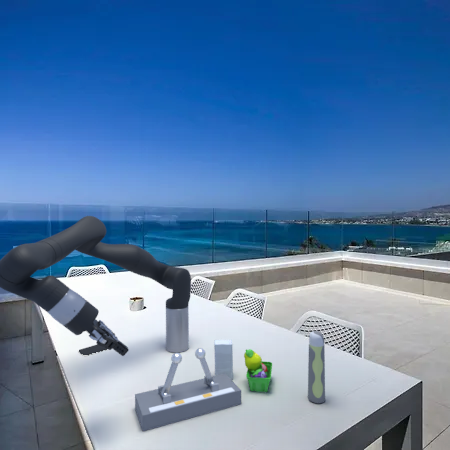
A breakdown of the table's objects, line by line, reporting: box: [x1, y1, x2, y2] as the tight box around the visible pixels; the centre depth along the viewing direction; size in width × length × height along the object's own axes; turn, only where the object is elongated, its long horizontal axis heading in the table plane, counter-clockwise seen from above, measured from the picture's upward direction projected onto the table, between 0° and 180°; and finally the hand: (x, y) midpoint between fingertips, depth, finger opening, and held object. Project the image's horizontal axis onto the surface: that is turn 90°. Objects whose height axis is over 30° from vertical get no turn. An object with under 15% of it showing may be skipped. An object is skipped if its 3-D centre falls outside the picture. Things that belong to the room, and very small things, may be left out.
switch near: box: [160, 352, 183, 398], centre depth 90 cm, size 4×3×12 cm
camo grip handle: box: [307, 330, 326, 404], centre depth 95 cm, size 5×5×20 cm
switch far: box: [194, 347, 215, 387], centre depth 95 cm, size 4×3×12 cm
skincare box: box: [213, 339, 234, 381], centre depth 109 cm, size 6×4×12 cm
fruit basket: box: [243, 348, 273, 393], centre depth 104 cm, size 11×9×11 cm
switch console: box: [134, 374, 242, 432], centre depth 93 cm, size 11×28×6 cm, turn 115°
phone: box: [78, 344, 108, 356], centre depth 134 cm, size 7×1×15 cm
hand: (125, 352), depth 85 cm, fingers closed
